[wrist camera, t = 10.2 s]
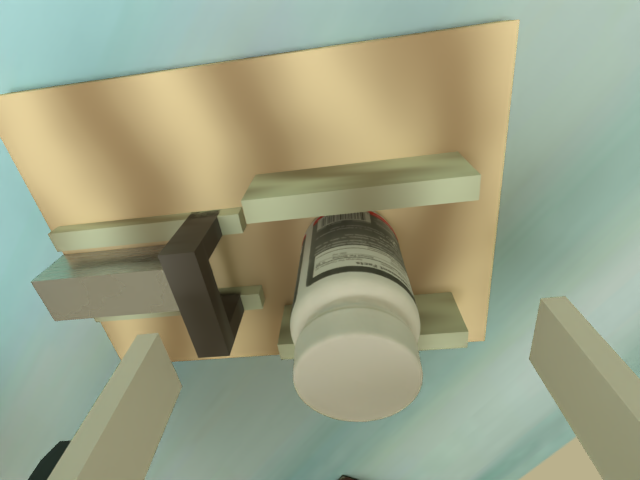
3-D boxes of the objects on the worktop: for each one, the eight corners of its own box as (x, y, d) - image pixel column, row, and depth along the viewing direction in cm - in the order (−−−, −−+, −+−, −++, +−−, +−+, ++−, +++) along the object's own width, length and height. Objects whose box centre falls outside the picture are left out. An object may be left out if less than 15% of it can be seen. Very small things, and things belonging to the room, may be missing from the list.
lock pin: (83, 291, 21) (54, 320, 19) (63, 254, 20) (30, 281, 18) (204, 281, 20) (189, 310, 18) (191, 242, 19) (173, 268, 17)
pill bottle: (360, 298, 20) (373, 449, 13) (285, 257, 19) (253, 396, 12) (417, 234, 18) (470, 371, 11) (336, 184, 17) (336, 299, 10)
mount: (135, 346, 25) (86, 422, 20) (8, 93, 17) (-121, 117, 12) (475, 321, 23) (513, 401, 18) (502, 20, 15) (581, 16, 10)
